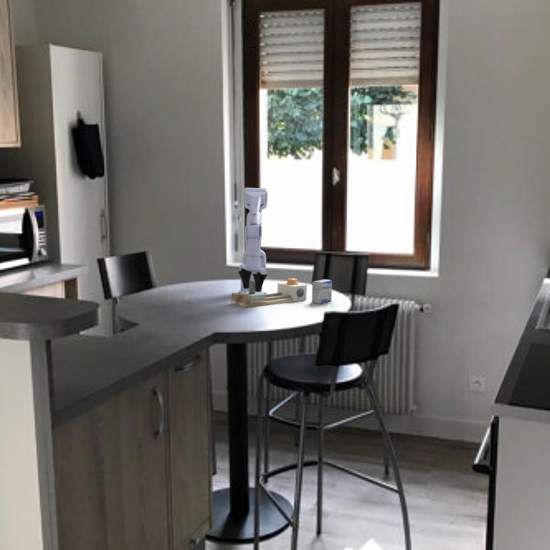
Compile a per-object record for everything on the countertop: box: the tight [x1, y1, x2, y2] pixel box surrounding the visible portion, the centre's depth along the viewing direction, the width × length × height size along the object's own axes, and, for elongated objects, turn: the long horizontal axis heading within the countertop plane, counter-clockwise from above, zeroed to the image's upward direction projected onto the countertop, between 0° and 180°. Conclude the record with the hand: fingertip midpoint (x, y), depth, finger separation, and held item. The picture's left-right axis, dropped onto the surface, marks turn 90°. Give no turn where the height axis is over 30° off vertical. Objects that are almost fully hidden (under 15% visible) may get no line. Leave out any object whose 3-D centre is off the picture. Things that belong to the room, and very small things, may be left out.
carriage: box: [238, 280, 267, 300], centre depth 291 cm, size 8×7×7 cm
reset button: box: [286, 277, 298, 285], centre depth 304 cm, size 4×4×6 cm
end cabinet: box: [276, 281, 308, 302], centre depth 304 cm, size 10×7×6 cm
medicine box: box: [311, 279, 333, 305], centre depth 298 cm, size 8×4×9 cm, turn 143°
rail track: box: [231, 292, 294, 308], centre depth 295 cm, size 10×23×4 cm, turn 129°
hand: (252, 290), depth 291 cm, fingers open, 7 cm apart
